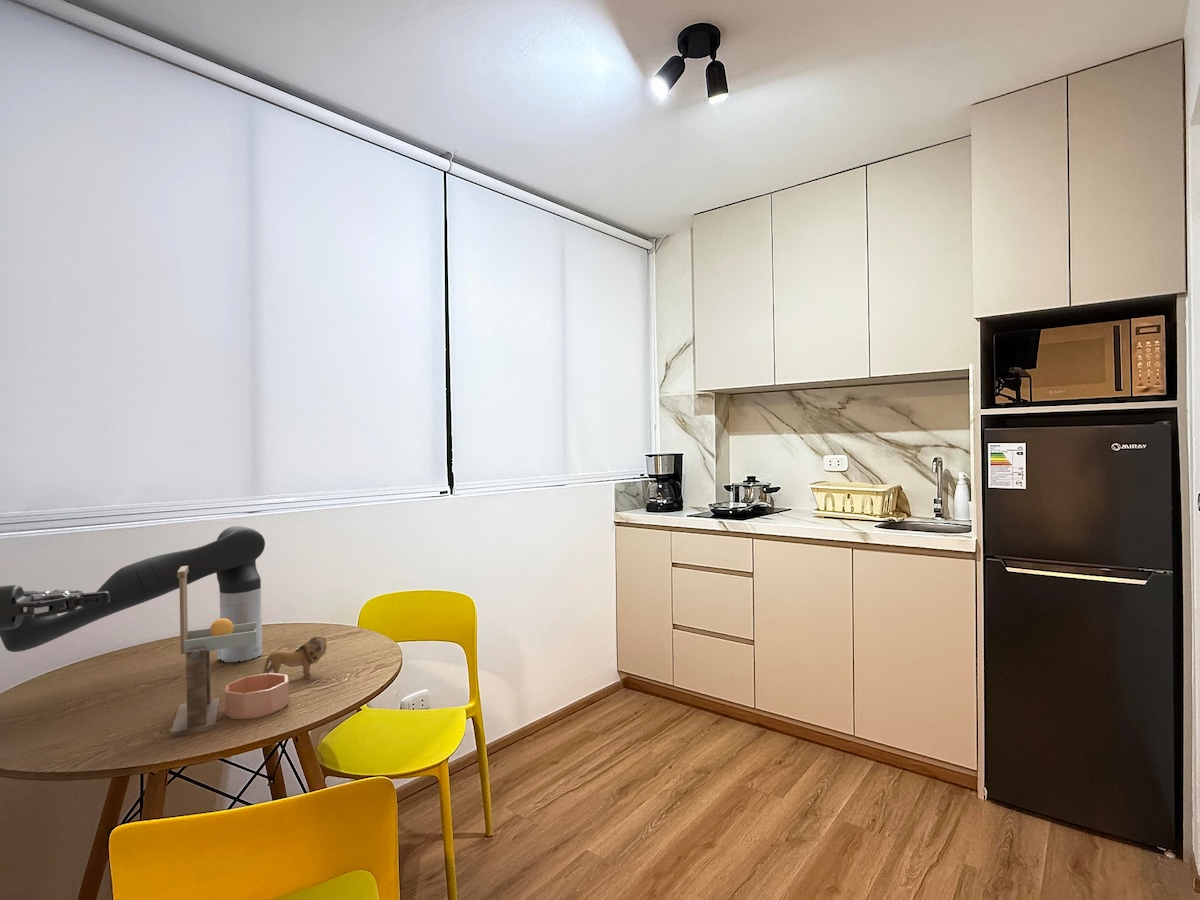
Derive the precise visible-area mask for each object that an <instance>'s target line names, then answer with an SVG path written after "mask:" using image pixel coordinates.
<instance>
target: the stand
mask: <svg viewBox="0 0 1200 900" xmlns="http://www.w3.org/2000/svg"><path fill="white" fill-rule="evenodd" d="M185 671H186V672H185V673H186V674H185V675H186V678H185V681H186V703H181V704H179V705H178V708H177V711H176V714H175V717H174V721H173V724H172V728H171V731H170V738H171V739H172V738H177V737H183V736H188V735H194V734H199V733H203V732H208V731H209V732H210V731H213V730H216V727H217V721H218V716H219V715H218V714H219V709H220V702H221V701H220V697H216V698H215V697H214V698H211V695H212V694H211V693H212V691H211V688H212V687H211V651H206V647H201V648H194V649H187V651H186V654H185Z"/></svg>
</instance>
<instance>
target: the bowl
mask: <svg viewBox="0 0 1200 900" xmlns="http://www.w3.org/2000/svg"><path fill="white" fill-rule="evenodd" d="M288 675H289V674H286V673H285V674H283V673H278V674H276V673H274V672H270V673H266V672H265V674H263V673H260V674H253V675H249V676H247V675H246V676H243V677H241V678H239V679H236V680H234V681H232V682H229V683H227V684H225V688H224V689H225V690H224V716H226V717H227V718H229V719H233V720H251V719H258V718H261V717H267V716H270V715H273V714H275V713H277V712H276V711H278V710H280V711H281V709H282V708H283V709H285V708H286V707H287V706H288V705H289V704H290V692H289V691H290V690H289V689H290V685H289V684H290V681H289V677H288ZM287 704H288V705H287ZM286 705H287V706H286ZM285 706H286V707H285ZM284 707H285V708H284ZM283 709H282V710H283ZM274 712H275V713H274ZM278 712H279V711H278ZM272 713H273V714H272ZM266 715H267V716H266Z"/></svg>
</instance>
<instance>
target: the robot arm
mask: <svg viewBox="0 0 1200 900" xmlns="http://www.w3.org/2000/svg"><path fill="white" fill-rule="evenodd" d="M265 546H266V541H265V538H264V536H263V535H262V534H261V532H259V531H257V530H256V529H254V528H252V527H251V528H250V527H247V526H243V525H240V526H239V525H234V526H230V527H227V528H225V529H224V530H222V532H220V533H219V535H218V536H217V539H216V540H215V541H212V542H210V543H207V544H203V545H202V546H198V547H194V548H190V549H185V550H178V551H174V552H169V553H163V554H159V555H155V556H151V557H149V558H146V559H143V560H140V561H137V562H134V563H131V564H128V565H125V566H122V567H121V568H120V569H118V570H116V571H115V572H114V573H113V574H112V575H111V576H110V577H109V578H107V580H106V581H105V582H103V584H102V585H101V586H100V587H99V588H98V589H97V591H94V592H83V590H64V589H63V590H58V589H54V590H52V591H48V590H43V591H42V590H41V591H35V590H24V588H23V587H22V586H21V585H19V584H12V585H11V584H10V585H0V640H1V642H2V645H3V647H4V648H5V649H6V650H7V651H8V652H12V653H19V652H25V651H28V650H32V649H34V648H37V647H39V646H42V645H44V644H48V643H49V642H51V641H54V640H56V639H58V638H60V637H63V636H65V635H67V634H69V633H72V632H74V631H76V630H78V629H81V628H83V627H85V626H86V625H89V624H91V623H93V622H95V621H98V620H100V619H103V618H106V617H108V616H111V615H113V614H116V613H119V612H121V611H124V610H126V609H129V608H133V607H135V606H137V605H141V604H143V603H145V602H149V601H151V600H154V599H157V598H159V597H162V596H163V595H166V594H169V593H172V592H174V591H176V590H178V589H180V588H179V578H177V572H178V570H179V569H180V567H181V566H188V573H187V586H188V585H189V584H192V583H194V582H197V581H199V580H201V579H203V578H205V577H208V576H211V575H214V574H216V579H217V582H218V587H219V590H218V591H219V619H221V618H226V619H229V620H230V621H231V622H232V623H233V625H238V624H246V623H254V622H256V644H253V645H246V646H239V647H232V648H225V649H218V650H216V653H217V655H216V657H217V660H220V659H221V660H222V661H221V660H220V661H221V662H223V661H224V663H239V662H238V661H240V662H246V661H250V660H253V658H254V659H256V658H258V656H259V657H261V656H262V654H263V634H262V633H263V632H262V631H263V629H262V627H263V625H262V623H263V622H262V588H261V587H262V585H261V584H262V580H261V576H260V575H259V572H258V569H257V565H256V564H257V562H256V560H257V559H258V558H259V557H260V556H261V555H262V554H263V552H264V551H265ZM59 614H61V615H59ZM245 660H246V661H245Z"/></svg>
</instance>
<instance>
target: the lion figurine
mask: <svg viewBox="0 0 1200 900" xmlns="http://www.w3.org/2000/svg"><path fill="white" fill-rule="evenodd" d="M327 648H328V646H327V638H326V637H325V636H322V635H314V636H313V637H311V638H310V639H309V640H308V641H307V642H306V643H304V644H302V645H300V646H299V648H298V649H295V650H282V649H279V650H274V651H273V652H271V653H270V654H269V655H268V656H267V658H266V660H265V663H264V667H263V671H262V674H266V673H272V671H273V673H276V674H279V672H280V669H281V666H282V665H284V666H286V667H289V668H297V667H301V666H302V674H303V676H304V675H305V676H304V678H305V679H306V678H310V677H312V675H311V672H310V670H311V665H314V664H317V663H318V662H319V661H320V659H321V658H322V657H323V656H324V655H325V654H326V651H327ZM269 663H270V664H269ZM268 665H269V667H268ZM309 674H310V675H309ZM312 678H313V677H312Z"/></svg>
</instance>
